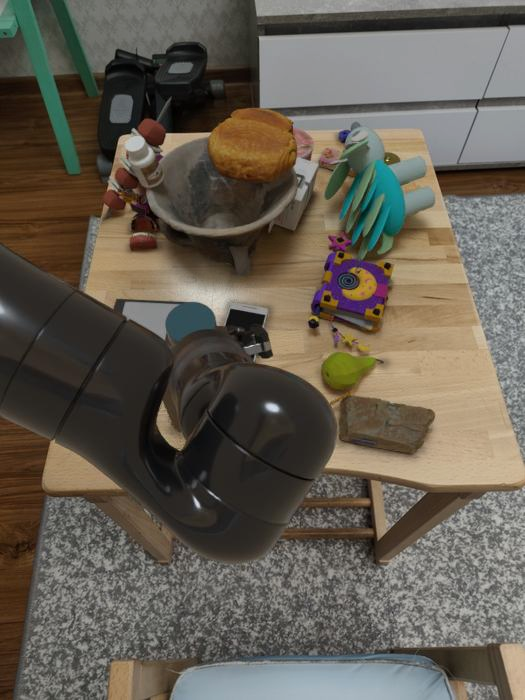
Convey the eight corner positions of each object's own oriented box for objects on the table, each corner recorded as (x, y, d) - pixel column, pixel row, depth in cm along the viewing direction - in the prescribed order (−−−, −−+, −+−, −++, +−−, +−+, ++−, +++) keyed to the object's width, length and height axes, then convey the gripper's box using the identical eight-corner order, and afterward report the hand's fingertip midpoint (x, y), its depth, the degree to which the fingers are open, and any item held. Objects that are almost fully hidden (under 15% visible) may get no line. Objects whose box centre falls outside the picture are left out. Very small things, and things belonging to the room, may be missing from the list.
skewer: (105, 224, 104) (175, 97, 93) (114, 236, 102) (187, 108, 91) (84, 217, 100) (155, 84, 89) (93, 230, 98) (167, 95, 87)
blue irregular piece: (334, 137, 114) (335, 127, 112) (348, 129, 115) (349, 119, 113) (362, 157, 110) (364, 147, 108) (376, 148, 112) (379, 138, 109)
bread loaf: (197, 148, 76) (199, 185, 83) (293, 169, 75) (287, 204, 82) (219, 89, 82) (220, 128, 89) (308, 108, 81) (301, 146, 89)
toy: (318, 158, 107) (326, 145, 109) (317, 165, 108) (325, 153, 111) (370, 174, 104) (377, 160, 106) (369, 181, 106) (375, 168, 108)
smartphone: (208, 375, 81) (208, 373, 80) (231, 304, 89) (231, 301, 88) (249, 384, 80) (249, 381, 80) (268, 311, 88) (268, 308, 87)
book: (294, 337, 84) (299, 295, 74) (329, 238, 97) (336, 190, 86) (376, 359, 82) (392, 318, 72) (400, 255, 94) (417, 207, 84)
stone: (428, 420, 76) (437, 404, 72) (427, 459, 73) (437, 445, 68) (339, 404, 78) (343, 388, 74) (334, 441, 75) (338, 427, 70)
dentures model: (124, 238, 91) (128, 209, 96) (129, 253, 95) (132, 225, 99) (154, 237, 92) (156, 208, 96) (157, 253, 95) (159, 224, 100)
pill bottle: (155, 191, 82) (137, 156, 75) (135, 185, 83) (116, 149, 77) (169, 173, 83) (153, 136, 76) (149, 167, 85) (131, 130, 78)
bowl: (223, 176, 107) (218, 113, 94) (319, 231, 98) (327, 169, 85) (133, 245, 96) (113, 184, 83) (231, 313, 87) (226, 257, 74)
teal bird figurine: (422, 92, 85) (337, 113, 80) (454, 233, 90) (377, 261, 85) (378, 120, 98) (303, 140, 93) (409, 242, 103) (339, 266, 98)
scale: (102, 366, 82) (98, 358, 80) (119, 305, 89) (115, 296, 86) (183, 370, 81) (181, 362, 79) (194, 308, 88) (192, 300, 86)
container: (309, 191, 104) (312, 160, 97) (261, 188, 104) (261, 157, 98) (311, 160, 109) (315, 128, 102) (266, 157, 110) (266, 125, 103)
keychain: (315, 414, 77) (315, 418, 77) (311, 409, 77) (311, 413, 76) (355, 391, 74) (356, 395, 73) (351, 386, 74) (352, 390, 73)
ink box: (312, 195, 104) (289, 242, 97) (291, 188, 104) (267, 234, 97) (320, 163, 96) (296, 211, 89) (297, 155, 97) (271, 203, 90)
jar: (172, 373, 64) (161, 341, 57) (179, 334, 67) (169, 300, 60) (218, 376, 64) (212, 344, 57) (223, 337, 67) (218, 302, 60)
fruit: (314, 350, 78) (370, 334, 83) (313, 383, 80) (368, 365, 86) (339, 366, 73) (397, 347, 78) (337, 400, 75) (393, 380, 81)
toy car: (139, 193, 88) (132, 217, 89) (177, 204, 99) (171, 226, 100) (117, 184, 90) (110, 208, 91) (157, 196, 101) (150, 217, 102)
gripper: (281, 316, 42) (246, 297, 57) (118, 361, 39) (128, 328, 55) (298, 395, 44) (260, 356, 59) (144, 442, 41) (146, 388, 57)
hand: (196, 343), depth 57 cm, fingers open, 8 cm apart
